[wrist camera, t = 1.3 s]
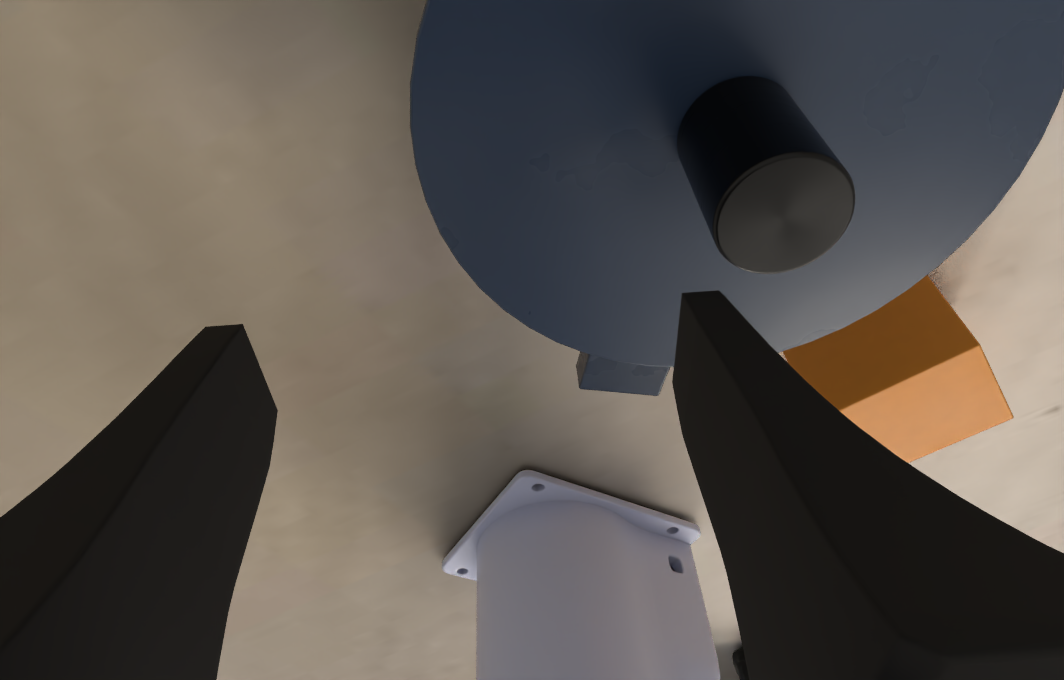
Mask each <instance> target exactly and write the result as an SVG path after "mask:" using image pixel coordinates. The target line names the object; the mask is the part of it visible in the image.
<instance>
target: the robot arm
mask: <svg viewBox="0 0 1064 680" xmlns="http://www.w3.org/2000/svg"><path fill="white" fill-rule="evenodd" d="M672 383H673V388H674V394H675V399H676V404H677V410H678V415H679V420H680V425H681V430H682V435H683V438H684V441H685V444H686V447H687V451H688V454H689V457H690V460H691V463H692V466H693V469H694V472H695V475H696V478H697V481H698V484H699V487H700V490H701V493H702V496H703V499H704V502H705V505H706V508H707V511H708V514H709V517H710V520H711V523H712V526H713V529H714V532H715V535H716V539H717V542H718V545H719V548H720V551H721V554H722V558H723V561H724V565H725V569H726V572H727V576H728V580H729V585H730V590H731V594H732V599H733V603H734V608H735V612H736V617H737V621H738V626H739V631H740V635H741V640H742V645H743V650H744V655H745V660H746V665H747V670H748V675H749V680H1064V553H1062V552H1060V551H1057V550H1055V549H1053V548H1051V547H1049V546H1047V545H1045V544H1043V543H1041V542H1039V541H1037V540H1035V539H1033V538H1032V537H1030V536H1028V535H1026V534H1024V533H1023V532H1021V531H1019V530H1017V529H1015V528H1013V527H1012V526H1010V525H1008V524H1006V523H1004V522H1002V521H1001V520H999V519H997V518H995V517H993V516H992V515H990V514H988V513H986V512H985V511H983V510H981V509H980V508H978V507H976V506H974V505H973V504H971V503H969V502H968V501H966V500H964V499H963V498H961V497H959V496H958V495H956V494H954V493H953V492H951V491H950V490H948V489H947V488H945V487H944V486H942V485H940V484H939V483H937V482H936V481H934V480H933V479H931V478H930V477H928V476H926V475H925V474H923V473H922V472H920V471H919V470H917V469H916V468H914V467H913V466H911V465H910V464H908V463H907V462H906V461H904V460H903V459H901V458H900V457H898V456H897V455H895V454H894V453H893V452H891V451H890V450H889V449H887V448H886V447H885V446H883V445H882V444H881V443H879V442H878V441H877V440H875V439H874V438H873V437H871V436H870V435H869V434H867V433H866V432H865V431H863V430H862V429H861V428H859V427H858V426H857V425H856V424H855V423H853V422H852V421H851V420H850V419H848V418H847V417H846V416H845V415H844V414H842V413H841V412H840V411H839V410H838V409H837V408H836V407H834V406H833V405H832V404H831V403H830V402H829V401H828V400H826V399H825V398H824V397H823V396H822V395H821V394H820V393H819V392H818V391H816V390H815V389H814V388H813V387H812V386H811V385H810V384H809V383H808V382H807V381H806V380H805V379H804V378H803V377H802V376H801V375H800V374H799V373H798V372H796V371H795V370H794V369H793V368H792V367H791V366H790V365H789V364H788V363H787V362H786V361H785V360H784V359H783V358H782V357H781V356H780V355H779V354H778V353H777V352H776V351H775V350H774V349H773V348H772V347H771V345H770V344H769V343H768V342H767V341H766V340H765V339H764V338H763V337H762V336H761V335H760V334H759V333H758V332H757V331H756V330H755V329H754V327H753V326H752V325H751V324H750V323H749V322H748V321H747V320H746V319H745V318H744V316H743V315H742V314H741V313H740V312H739V311H738V310H737V309H736V308H735V307H734V305H733V304H732V303H731V302H730V301H729V300H728V299H727V298H726V297H725V296H724V295H723V294H722V293H721V292H720V291H719V290H716V291H702V292H688V293H682V296H681V305H680V315H679V324H678V334H677V343H676V353H675V362H674V372H673V381H672ZM277 411H278V410H277V408H276V405H275V403H274V400H273V398H272V395H271V393H270V390H269V388H268V385H267V383H266V381H265V378H264V376H263V373H262V371H261V368H260V366H259V363H258V361H257V358H256V356H255V353H254V351H253V348H252V346H251V343H250V341H249V338H248V336H247V333H246V331H245V329H244V326H243V324H239V325H224V326H210V327H205V328H204V329H203V330H202V331H201V332H200V333H199V334H198V335H197V336H196V337H195V338H194V339H193V340H192V341H191V342H190V343H189V344H188V345H187V346H186V347H185V348H184V349H183V350H182V351H181V352H180V353H179V354H178V355H177V356H176V357H175V358H174V359H173V360H172V361H171V362H170V363H169V364H168V365H167V366H166V367H165V368H164V370H163V371H162V372H161V373H160V374H159V375H158V376H157V377H156V378H155V379H154V380H153V381H152V382H151V383H150V384H149V385H148V386H147V387H146V388H145V389H144V390H143V391H142V392H141V393H140V394H139V395H138V396H137V397H136V398H135V399H134V400H133V401H132V402H131V403H130V404H129V405H128V406H127V407H126V408H125V409H124V410H123V411H122V412H121V413H120V414H119V415H118V416H117V417H116V418H115V419H114V420H113V421H112V422H111V423H110V424H109V425H108V426H107V427H106V428H104V429H103V430H102V431H101V432H100V433H99V434H98V435H97V436H96V437H95V438H94V439H93V440H91V441H90V442H89V443H88V444H87V445H86V446H85V447H84V448H83V449H82V450H81V451H80V452H79V453H77V454H76V455H75V456H74V457H73V458H72V459H71V460H70V461H69V462H68V463H67V464H66V465H64V466H63V467H62V468H61V469H60V470H59V471H57V472H56V473H55V474H54V475H53V476H52V477H50V478H49V479H48V480H47V481H46V482H44V483H43V484H42V485H41V486H40V487H38V488H37V489H36V490H35V491H33V492H32V493H31V494H30V495H28V496H27V497H26V498H25V499H23V500H22V501H21V502H20V503H18V504H17V505H16V506H14V507H13V508H12V509H11V510H9V511H8V512H7V513H6V514H4V515H3V516H2V517H0V680H216V679H217V672H218V666H219V661H220V655H221V649H222V644H223V638H224V633H225V627H226V622H227V616H228V611H229V607H230V603H231V599H232V595H233V591H234V587H235V583H236V579H237V576H238V573H239V569H240V566H241V563H242V559H243V556H244V552H245V549H246V546H247V542H248V539H249V536H250V532H251V529H252V525H253V522H254V519H255V515H256V512H257V509H258V505H259V502H260V498H261V495H262V491H263V488H264V484H265V481H266V477H267V473H268V470H269V466H270V461H271V454H272V448H273V442H274V435H275V427H276V419H277ZM700 535H701V532H700V528H699V526H698V525H697V524H694V523H691V522H688V521H685V520H682V519H679V518H676V517H673V516H670V515H667V514H664V513H661V512H658V511H655V510H652V509H649V508H646V507H643V506H640V505H637V504H634V503H631V502H627V501H624V500H621V499H618V498H615V497H612V496H609V495H606V494H603V493H600V492H597V491H594V490H591V489H588V488H585V487H582V486H579V485H576V484H573V483H570V482H567V481H563V480H560V479H557V478H554V477H551V476H548V475H545V474H542V473H539V472H536V471H533V470H523V471H520V472H519V473H518V474H516V476H515V477H514V478H513V479H512V480H511V481H510V483H509V484H508V485H507V486H506V487H505V488H504V490H503V491H502V492H501V493H500V494H499V495H498V497H497V498H496V499H495V500H494V501H493V502H492V504H491V505H490V506H489V507H488V508H487V509H486V510H485V512H484V513H483V514H482V515H481V516H480V517H479V519H478V520H477V521H476V522H475V523H474V524H473V526H472V527H471V528H470V529H469V530H468V531H467V533H466V534H465V535H464V536H463V537H462V538H461V539H460V541H459V542H458V543H457V544H456V545H455V546H454V548H453V549H452V550H451V551H450V552H449V553H448V555H447V556H446V557H445V558H444V559H443V561H442V570H443V571H444V572H446V573H448V574H452V575H456V576H459V577H463V578H467V579H471V580H475V581H477V659H476V680H720V669H719V663H718V658H717V653H716V649H715V645H714V641H713V637H712V633H711V629H710V624H709V620H708V616H707V612H706V608H705V604H704V600H703V596H702V592H701V588H700V583H699V579H698V575H697V571H696V567H695V563H694V559H693V555H692V551H691V547H690V545H691V544H692V543H693V542H694V541H696V540H697V539H698V538H699V537H700Z"/></svg>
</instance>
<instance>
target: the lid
mask: <svg viewBox="0 0 1064 680" xmlns="http://www.w3.org/2000/svg"><path fill="white" fill-rule="evenodd" d="M1063 89H1064V0H426V4H425V7H424V11H423V14H422V18H421V21H420V25H419V29H418V33H417V38H416V45H415V52H414V59H413V66H412V73H411V81H410V129H411V137H412V144H413V151H414V158H415V165H416V169H417V172H418V176H419V179H420V183H421V186H422V190H423V193H424V197H425V200H426V203H427V205H428V207H429V210H430V212H431V214H432V216H433V219H434V221H435V223H436V225H437V228H438V230H439V232H440V234H441V236H442V237H443V239H444V240H445V242H446V244H447V245H448V247H449V248H450V250H451V252H452V253H453V255H454V256H455V258H456V260H457V261H458V263H459V264H460V265H461V266H462V268H463V269H464V270H465V271H466V272H467V273H468V275H469V276H470V277H471V278H472V279H473V281H474V282H475V283H476V284H477V285H478V287H479V288H480V289H481V290H482V291H483V292H485V293H486V294H487V295H488V296H489V297H490V298H491V299H492V300H493V301H494V302H496V303H497V304H498V305H499V306H500V307H501V308H502V309H503V310H505V311H506V312H507V313H509V314H510V315H512V316H513V317H515V318H516V319H517V320H519V321H520V322H522V323H523V324H525V325H526V326H528V327H529V328H531V329H533V330H535V331H536V332H538V333H540V334H542V335H544V336H546V337H548V338H550V339H552V340H554V341H555V342H558V343H560V344H563V345H565V346H568V347H571V348H573V349H576V350H578V351H581V352H584V353H586V354H590V355H594V356H598V357H602V358H606V359H609V360H613V361H618V362H625V363H631V364H638V365H645V366H661V367H674V362H675V353H676V343H677V334H678V324H679V315H680V305H681V296H682V293H688V292H702V291H716V290H719V291H720V292H721V293H722V294H723V295H724V296H725V297H726V298H727V299H728V300H729V301H730V302H731V303H732V304H733V305H734V307H735V308H736V309H737V310H738V311H739V312H740V313H741V314H742V315H743V316H744V318H745V319H746V320H747V321H748V322H749V323H750V324H751V325H752V326H753V327H754V329H755V330H756V331H757V332H758V333H759V334H760V335H761V336H762V337H763V338H764V339H765V340H766V341H767V342H768V343H769V344H770V345H771V347H772V348H773V349H774V350H775V351H776V352H777V353H779V352H782V351H785V350H788V349H791V348H794V347H797V346H800V345H803V344H806V343H810V342H812V341H814V340H817V339H819V338H821V337H824V336H826V335H828V334H831V333H833V332H835V331H838V330H840V329H842V328H844V327H846V326H848V325H850V324H852V323H854V322H856V321H858V320H859V319H861V318H863V317H865V316H867V315H869V314H871V313H873V312H874V311H876V310H878V309H879V308H881V307H882V306H884V305H885V304H887V303H889V302H890V301H892V300H893V299H895V298H896V297H898V296H899V295H901V294H902V293H904V292H905V291H907V290H908V289H910V288H911V287H912V286H914V285H915V284H916V283H917V282H919V281H920V280H921V279H923V278H924V277H925V276H926V275H928V274H929V273H930V272H932V271H933V270H934V269H935V268H937V267H938V266H939V265H940V264H941V263H942V262H943V261H945V260H946V259H947V258H948V257H949V256H950V255H951V254H952V253H953V252H954V251H955V250H956V249H957V248H959V247H960V246H961V245H962V244H963V243H964V242H965V241H966V240H967V239H968V238H969V237H970V236H971V235H972V234H973V232H974V231H975V230H976V229H977V228H978V227H979V226H980V225H981V224H982V222H983V221H984V220H985V219H986V218H987V217H988V216H989V215H990V214H991V213H992V211H993V210H994V209H995V208H996V207H997V205H998V204H999V202H1000V201H1001V200H1002V198H1003V197H1004V196H1005V194H1006V193H1007V192H1008V190H1009V189H1010V188H1011V186H1012V185H1013V184H1014V182H1015V181H1016V180H1017V178H1018V177H1019V176H1020V174H1021V172H1022V171H1023V169H1024V167H1025V166H1026V164H1027V162H1028V161H1029V159H1030V157H1031V156H1032V154H1033V152H1034V151H1035V149H1036V147H1037V146H1038V144H1039V142H1040V141H1041V139H1042V137H1043V135H1044V133H1045V131H1046V128H1047V126H1048V124H1049V122H1050V120H1051V118H1052V115H1053V113H1054V111H1055V109H1056V107H1057V105H1058V103H1059V100H1060V98H1061V95H1062V92H1063Z"/></svg>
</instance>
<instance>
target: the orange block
mask: <svg viewBox="0 0 1064 680" xmlns="http://www.w3.org/2000/svg"><path fill="white" fill-rule="evenodd" d="M783 353H784V355H785V357H786V359H787V361H788V364H789V365H790V366H791V367H792V368H793V369H794V370H795V371H796V372H798V373H799V374H800V375H801V376H802V377H803V378H804V379H805V380H806V381H807V382H808V383H809V384H810V385H811V386H812V387H813V388H814V389H815V390H816V391H818V392H819V393H820V394H821V395H822V396H823V397H824V398H825V399H826V400H828V401H829V402H830V403H831V404H832V405H833V406H834V407H836V408H837V409H838V410H839V411H840V412H841V413H842V414H844V415H845V416H846V417H847V418H848V419H850V420H851V421H852V422H853V423H855V424H856V425H857V426H858V427H859V428H861V429H862V430H863V431H865V432H866V433H867V434H869V435H870V436H871V437H873V438H874V439H875V440H877V441H878V442H879V443H881V444H882V445H883V446H885V447H886V448H887V449H889V450H890V451H891V452H893V453H894V454H895V455H897V456H898V457H900V458H901V459H903V460H904V461H906V462H907V463H909V462H912V461H914V460H916V459H919V458H921V457H923V456H926V455H928V454H930V453H933V452H935V451H937V450H940V449H942V448H944V447H947V446H949V445H952V444H954V443H956V442H959V441H961V440H963V439H966V438H968V437H970V436H973V435H975V434H977V433H980V432H982V431H984V430H987V429H989V428H992V427H994V426H996V425H999V424H1001V423H1003V422H1006V421H1008V420H1010V419H1013V415H1012V413H1011V410H1010V408H1009V406H1008V404H1007V402H1006V400H1005V397H1004V395H1003V393H1002V391H1001V389H1000V387H999V385H998V382H997V380H996V378H995V376H994V374H993V372H992V369H991V367H990V365H989V363H988V361H987V359H986V357H985V354H984V352H983V350H982V348H981V346H980V344H979V343H978V341H977V340H976V339H975V337H974V336H973V335H972V333H971V332H970V331H969V329H968V328H967V327H966V326H965V324H964V323H963V322H962V320H961V319H960V318H959V316H958V315H957V314H956V312H955V311H954V310H953V308H952V307H951V306H950V304H949V303H948V302H947V301H946V299H945V298H944V297H943V295H942V294H941V293H940V291H939V290H938V289H937V287H936V286H935V285H934V283H933V282H932V281H931V280H930V278H929V277H928V276H927V275H926V276H925V277H924V278H923V279H921V280H920V281H919V282H917V283H916V284H915V285H914V286H912V287H911V288H910V289H908V290H907V291H905V292H904V293H902V294H901V295H899V296H898V297H896V298H895V299H893V300H892V301H890V302H889V303H887V304H885V305H884V306H882V307H881V308H879V309H878V310H876V311H874V312H873V313H871V314H869V315H867V316H865V317H863V318H861V319H859V320H858V321H856V322H854V323H852V324H850V325H848V326H846V327H844V328H842V329H840V330H838V331H835V332H833V333H831V334H828V335H826V336H824V337H821V338H819V339H817V340H814V341H812V342H810V343H806V344H803V345H800V346H797V347H794V348H791V349H788V350H785V351H783Z"/></svg>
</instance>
